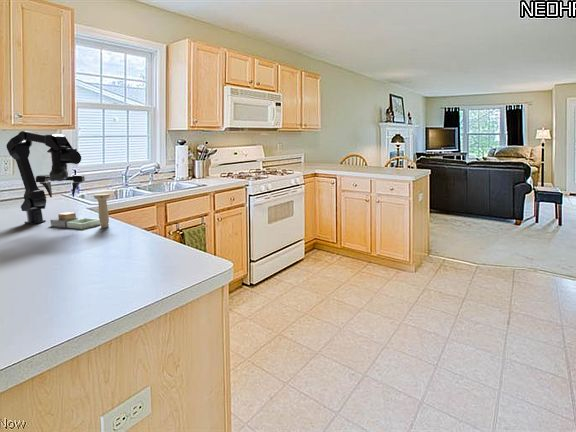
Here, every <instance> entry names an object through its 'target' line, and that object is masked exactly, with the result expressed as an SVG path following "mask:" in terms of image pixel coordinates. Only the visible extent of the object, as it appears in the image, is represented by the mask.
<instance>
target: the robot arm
mask: <svg viewBox="0 0 576 432" xmlns="http://www.w3.org/2000/svg"><path fill="white" fill-rule="evenodd" d="M33 142H36V143H40V144H44V145H45V146H46V147H49V149H48V150H47V153H49V154H50V155H51V156H50V158H51V170H50V172H49V174H39V175H36V176H35V175H34V172H33V169H32V166H31V163H30V160H29V156H30V153H31V151H30V148H31V147H32V145H33ZM6 150H7V151H8V154H9V156H11V157H12V158H13V159H14V160H15V162H16V165H17V168H18V171H19V174H20V177H21V180H22V183H23V186H24V189H25V190H24V193H23V194H24V195H23V200H24V201H23V202H22V204H21V206H20V209H21V212H26V218H27V221H24V223H25V224H29V225H34V224H35V225H36V224H40V223H45V222H47V221H46V220H45V219H44V216H43V212H42V211H43V209H44V210H45V209H46V205H47V195H46V193H45V191H44V189H40V188H39V187H38V184H37V183H39V185H41V186H43V187H44V188H45V190H46V192H47V194H48V195H49V197H50V198H52V197H53V192H52V185H51V182H56V181H58V182H63V181H72V183H71V184H72V192H71V193H72V194H71V195H72V198H75V196H76V193H77V190H78V187H79V185H80V184H81V183H83V182H85V179H86V178H85V177H86V176H85V175H84V174H74V175H72V176H71V175H70V176H69V172H68V165H69V164H71V165H78V164H80V163H81V161H82V155H81V154H80V152H79V151H78V149H77V148H73V147H72V145H71V144H70V142H69V140H68V139H67V137H66V135H63V134H44V133H39V132H33V131H31V130H22V131H19V133H18V134H16V135H15V136H14V137H11V138H10V139H9V141H8V142H7V143H6Z"/></svg>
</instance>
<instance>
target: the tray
mask: <svg viewBox="0 0 576 432" xmlns="http://www.w3.org/2000/svg"><path fill="white" fill-rule="evenodd" d="M97 226H101V224H100V220H99V218H90V217H89V218H88V217H85V218H83V217H82V218H78V220H74V221H69V222H67V227H66V228H68V229H69V228H70V229H77V230H85V229H88V228H89V229H90V228H92V227H97Z"/></svg>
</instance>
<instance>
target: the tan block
mask: <svg viewBox="0 0 576 432" xmlns="http://www.w3.org/2000/svg"><path fill="white" fill-rule="evenodd" d="M57 216H58V217H57V218H59V219H61V220H69V219H74V218H77V216H76V212H70V211H69V212H68V211H67V212H61V213H58V215H57Z"/></svg>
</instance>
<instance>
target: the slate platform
mask: <svg viewBox="0 0 576 432" xmlns="http://www.w3.org/2000/svg"><path fill="white" fill-rule="evenodd" d="M78 219H79V218H78V217H76V218H74V219H69V220H61V219H59V217H57V218H52V219H50V226H51V227H55V228H57V227H58V228H68V227H67V222H69V221H74V220H78Z"/></svg>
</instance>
